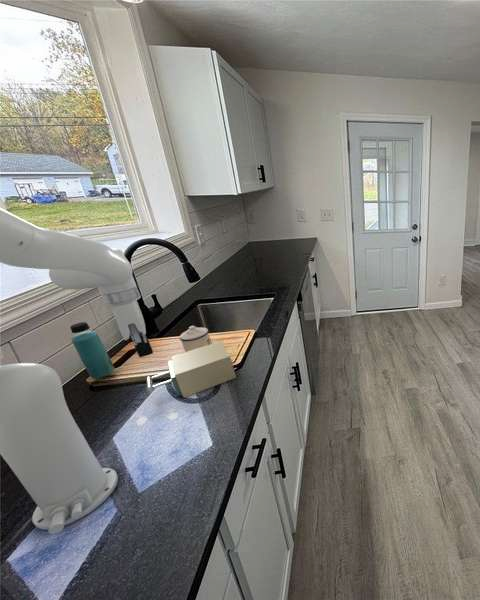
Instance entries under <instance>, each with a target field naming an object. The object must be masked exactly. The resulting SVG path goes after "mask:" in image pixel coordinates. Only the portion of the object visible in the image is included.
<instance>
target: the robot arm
mask: <svg viewBox="0 0 480 600" xmlns="http://www.w3.org/2000/svg"><path fill="white" fill-rule="evenodd" d="M0 264H3V265H7V266H11V267H16V268H26V269H37V270H48V276H49V277H48V278H49V279H50V281H51V282H52V283H53V284H54V286H57V287H58V288H60V289H61V288H62V289H65V290H71V291H72V290H73V291H75V290H87V289H94V288H97V290H98V292H99V294H100V297H101V299H102V302H103V303H104V305H105V306H106V307H111V311H112V313H113V317H114V319H115V322H116V324H117V326H118V329H119V331H120V334H121V337H122V339H123V341H128V340H129V339H130V338H131V340H132V342H133V346H134V349H135V350H136V353H137V356H138V358H143V357H147V356H151V355H152V354H153V353H154V351H153V348H152V346H151V343H150V341H149V339H148V338H147V335H146V334H147V330H146V329H147V328H146V323H145V319H144V315H143V313H142V310H141V308H140V306H139V302H138V301H139V300H140V299H141V297H142V295H141V293H140V290H139V288H138V286H137V283H136V281H135V278H134V276H133V273H134V272H133V267H132V264H131V263H130V261H129V260H128V258H127V257H126V256H125V254H124V252H123V251H122V250H121V249H120V248H116V247H115V248H114V247H110V246H108V245H106V244H104V243H102V242H99V241H96V240H93V239H90V238H86V237H82V236H77V235H73V234H70V233H65V232H61V231H57V230H54V229H53V230H52V229H47V228H43V227H39V226H37V225H34V224H33V223H30V222H29V221H27V220H25V219H23V218H20V217H19V216H17V215H16V214H15V215H14V214H13V213H11V212H9V211H7V210H5V209H3V208H1V207H0ZM3 358H4V351H3V349H2V347H1V346H0V456H1V457H2V459H3V460H4V461H5V462H6V464H7V465H8V466H9V468H10V469H11V471H12V472H13V473H14V475H15V477H17V479H18V481H20V484H21V485H22V486H23V488H24V489H25V490H26V491H27V493H28V494H29V496H30V497H31V498H32V500H33V501H34V503H35V504H36V505H37V506H36V508H35V510H33V514H32V516H31V521H32V523H33V525H34V526H35V527H36V528H37V529H39V530H43V531H45V530H46V531H48V534H50V535H56V534H59V533H60V532H62V531H63V530H64V528H65V526H67V525H69V524H72V523H74V522H76V521H78V520H80V519H82V518H84V517H85V516H87V515H88V514H90V513H91V512H93V511H94V510H95V509H97V508H98V507H99V506H100V505H101V504H103V503H104V502H105V501H106V500H107V499H108V498H109V497H110V496H111V495H112V493H113V492H114V491H115V488H116V487H117V485H118V483H119V476H118V473H117V471H116V470H115V469H113V468H110V467H102V466H101V465H100V463H99V460H98V459H97V457H96V456H95V454H94V452H93V450H92V449H91V447H90V445H89V443H88V441H87V439H86V438H85V436H84V434H83V433H82V431H81V429H80V427H79V426H78V423H77V422H76V420H75V419H74V417H73V414H72V413H71V411H70V409H69V407H68V405H67V402H66V399H65V395H64V390H63V384H62V381H61V378H60V376H59V373H57V371H56V370H55V369H53V368H52V367H50V366H49V365H45V364H42V363H35V362H17V363H10V364H2V361H3ZM1 364H2V365H1Z"/></svg>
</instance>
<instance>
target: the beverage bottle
mask: <svg viewBox="0 0 480 600" xmlns="http://www.w3.org/2000/svg"><path fill="white" fill-rule="evenodd" d="M69 327H70V331H71V333H72V334H74V336H73V337H72V338H71V343H72V345H73V346H74V348H75V350H76V353H77V355H78V357H79V359H80V362H81V363H82V365H83V367H84V368H85V370H86V372H87V374H88V376H89V377H90V378H91V379H100V378H103V377H106V376H108V375H110V374H112V373H113V372H114V371H115V366H114V363H113V361H112V359H111V357H110V355H109V353H108V351H107V349H106V348H105V345H104V343H103V342H102V340H101V338H100V336H99V333H98V332H96V331H94V330H90V329H91V328H90V325H89V324H88V323H87V322H86V321H82V322H77V323H74V324H71V325H70V326H69Z"/></svg>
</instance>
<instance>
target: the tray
mask: <svg viewBox="0 0 480 600" xmlns="http://www.w3.org/2000/svg"><path fill="white" fill-rule="evenodd" d="M167 367H168V371H165V372H162V373H159V374H156V375H153V376H151V375H150V376H147V377H145V384H146V385H145V386H146V391H147V392H151V391H153V390H154V389H155V388H160V387H161V386H164V385H167V384H170V383H172V385H173V388H174V391H175V393H176V396H177V397H179V396H183V395H182V392H181V390H180V387H179V385H178V382H177V379H176V377H175V373H174V369H173V364H172V360H168V361H167ZM167 375H169V377H170V379H168V380H166V381H163V382H160V383H157V384H153V380H154V379H158V378H161V377H164V376H167Z"/></svg>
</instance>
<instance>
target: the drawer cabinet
mask: <svg viewBox="0 0 480 600" xmlns="http://www.w3.org/2000/svg"><path fill="white" fill-rule="evenodd" d="M170 359H171V360H172V364H173V369H174V373H175V377H176V379H177V382H178V385H179V387H180V390H181V392H182V395H181V396H182V397H183V398H184V399H185V398H187V397H190V396H192V395H194V394H197V393H200V392H203V391H205V390H208V389H210V388H213V387H216V386H218V385H220V384H224V383H226V382H229V381H231V380H234V379H236V378H237V376H236V375H237V374H236V372H235V369H234V365H233V362H232V358H231V356H230V354H229V352H228V350H227V349H226V347H225V345H224V344H223V342H222V341H221V340H219V341H216V342H213V343H212V344H210V345H207V346H203V347H200V348H197V349H194V350H191V351H188V352H185V351H184V352H182V353H178V354H175V355H172V356H170Z"/></svg>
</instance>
